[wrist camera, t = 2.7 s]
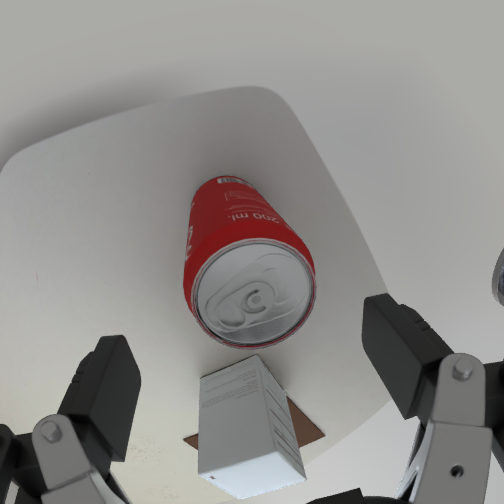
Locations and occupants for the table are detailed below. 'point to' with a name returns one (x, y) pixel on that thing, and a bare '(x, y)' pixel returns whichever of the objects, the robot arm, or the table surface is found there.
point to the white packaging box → (246, 432)
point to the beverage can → (245, 267)
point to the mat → (301, 424)
